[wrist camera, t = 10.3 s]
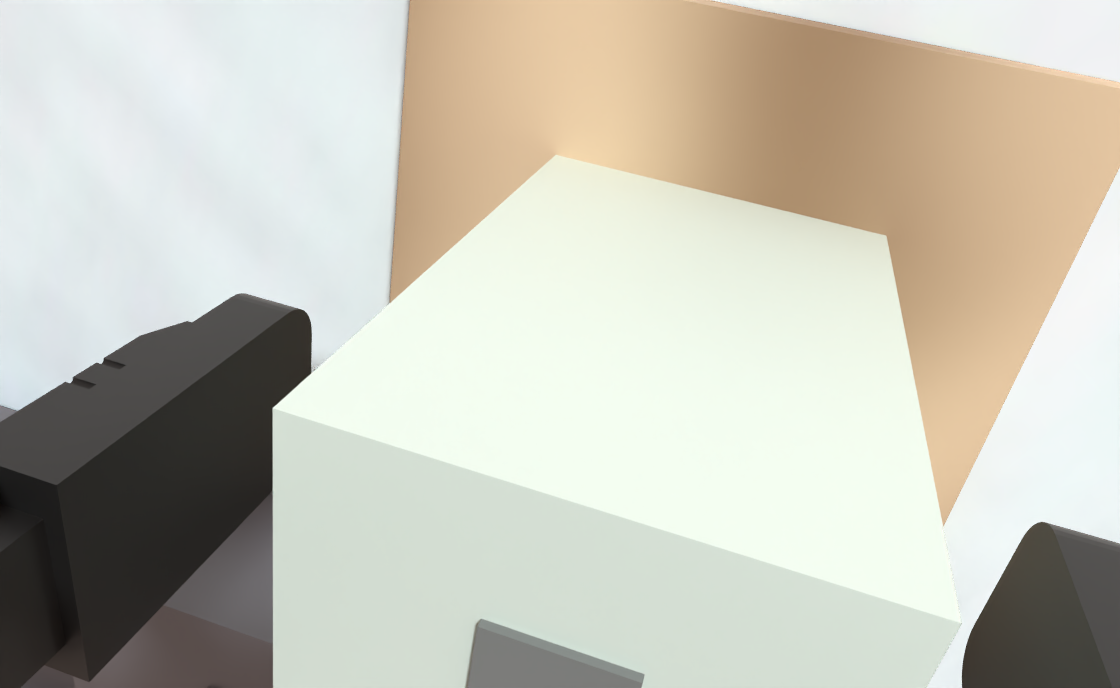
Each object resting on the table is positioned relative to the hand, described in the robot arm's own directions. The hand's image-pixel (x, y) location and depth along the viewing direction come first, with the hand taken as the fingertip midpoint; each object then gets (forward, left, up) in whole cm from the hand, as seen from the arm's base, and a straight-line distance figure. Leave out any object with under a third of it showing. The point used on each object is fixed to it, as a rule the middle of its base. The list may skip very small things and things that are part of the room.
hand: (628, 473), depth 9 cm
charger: (0, 0, -4) cm, 4 cm away
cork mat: (0, 0, -4) cm, 4 cm away
